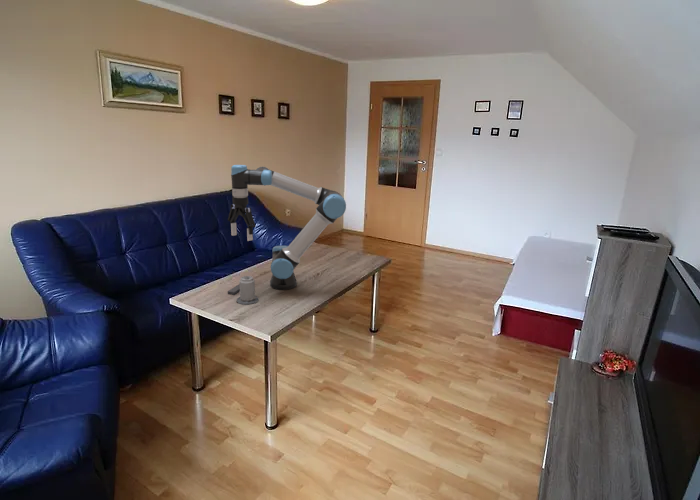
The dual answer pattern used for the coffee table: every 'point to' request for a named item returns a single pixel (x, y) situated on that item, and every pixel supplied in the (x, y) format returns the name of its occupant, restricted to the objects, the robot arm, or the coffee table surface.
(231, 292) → the remote
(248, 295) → the can
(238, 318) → the coffee table surface
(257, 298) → the coaster
